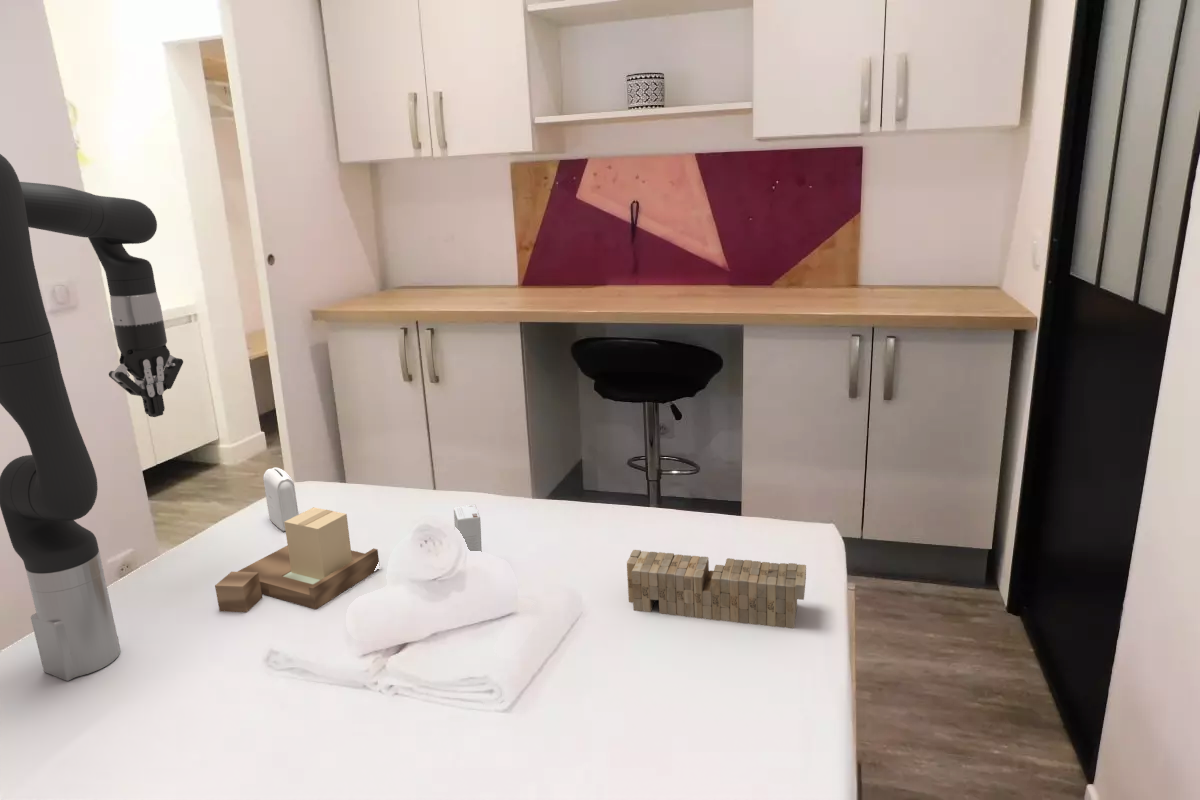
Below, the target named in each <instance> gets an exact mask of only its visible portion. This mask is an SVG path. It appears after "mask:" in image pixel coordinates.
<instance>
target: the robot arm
mask: <svg viewBox="0 0 1200 800" xmlns="http://www.w3.org/2000/svg"><path fill="white" fill-rule="evenodd" d="M30 229H37V230H42V231H48V232H52V233H59V234H63V235H69V236H72V237H73V236H74V237H81V238H87V239H88V240H89V242H90V244H91V246H92V248H93V250H94V252H95V254H96V256H97V259H98V260H99V262H100V265H101V266H102V268H103V270H104V273H105V276H106V282H107V283H106V284H107V288H108V293H109V298H110V311H111V312H110V313H111V318H112V322H113V326H114V332H115V337H116V343H117V347H118V349H119V351H120V357H119V365H118V366H117V368H116V369H115V370H110V371H109V372H108V377H109V378H111V380H113V381H114V382H115V383H116V384H117V385H118V386H120V387H121V388H122V389H124V390H125V391H126V392H128V394H130V395H131V396H132V395H133V396H138V397H141V398H142V403H143V408H144V412H145V414H146V415H148V416H149V417H151V418H158V417H160V416H163V415H164V412H165V409H166V408H165V403H164V402H165V401H164V397H163V394H164V392H165V391H167V390H170V389H172V388H173V386H174V382H175V381H176V379H177V377H178V374H179V372H180V370H181V368H182V366H183V364H184V359H182V358H177V357H175V356H173V355H171V352H170V349H169V348H168V346H167V342H168V340H167V333H166V326H165V321H164V317H163V313H162V312H163V311H162V305H161V301H160V299H159V295H158V292H157V286H156V282H155V275H154V271H153V266H152V264H151V262H150V261H149V260H148V259H145V258H143V257H136V256H133V255H130V254H129V253H128V251H127V250H126V249H125V246H124V245H130V244H132V245H133V244H135V245H137V244H143V243H146V242H149V241H150V240H151V239H153V238H154V236H155V234H156V232H157V229H158V221H157V218H156V216H155V214H154V212H153V211H152V209H151V208H150V207H148V205H146V204H144V203H143V202H141V201H139V200H135V199H131V198H125V197H124V198H123V197H114V196H104V195H97V194H93V193H90V192H88V191H83V190H79V189H76V188H72V187H67V186H63V185H56V184H48V183H39V182H38V183H37V182H36V183H35V182H27V181H20V180H19V176H18V174H17V172H16V170H15V169H14V167H13V165H12V164H11V163H10V162H9V160H8V159H7V158H6V157H5V156H3V155H2V154H1V153H0V405H1V406H2V408H3V409H5V411H6V412H7V413H8V414H9V415H10V416H11V418H12V419H13V420H14V421H15V422H16V424H17V425H18V426H19V427H20V430H21V431H22V432H23V434H24V437H25V439H26V441H27V443H28V446H29V449H30V452H31V454H28V455H22V456H19V457H16V458H14V459H13V460H11V461H10V462H8V464H6V466H5V467H4V469H3V470H2V472H1V474H0V511H1V514H2V517H3V521H4V524H5V528H6V530H7V533H8V537H9V539H10V543H11V546H12V548H13V550H14V552H15V553H16V554H17V556H19V557H20V559H21V560H22V561H23V564H24V568H25V571H26V576H27V580H28V584H29V589H30V592H31V597H32V600H33V605H34V608H35V613H33V614H32V615H31V616H30V620H31V624H32V629H33V633H34V636H35V638H34V639H35V641H36V645H37V649H38V654H39V657H40V661H41V666H42V669H43V670H42V671H43V672H44V673H47V674H49V675H50V676H51V675H52V676H54V677H56V678H59V679H61V680H64V681H65V682H66V681H67V682H68V681H71V680H72V679H74V678H77V677H80V676H85V675H88V674H91V673H94V672H96V671H99V670H101V669H103V668H104V667H107V666H108V665H110V664H111V663H113V662H115V660H116V659H117V658H118V657H119V655H120V653H121V646H120V641H119V636H118V633H117V628H116V622H115V619H114V614H113V609H112V604H111V601H110V600H111V599H110V595H109V591H108V586H107V581H106V576H105V572H104V568H103V564H102V563H103V562H102V558H101V554H100V553H101V552H100V549H99V544H98V540H97V538H96V535H95V534H94V533H93V532H92V531H91V530H89V529H87V528H86V527H83V526H82V525H81V524H79V523H77V521H75V520H79V519H81V518H83V517H85V516H86V515H87V514H88V513H89V512H90V511H91V510H92V509H93V507H94V505H95V502H96V500H97V496H98V478H97V473H96V470H95V466H94V464H93V462H92V458H91V457H90V453H89V451H88V448H87V446H86V444H85V440H84V439H83V436H82V433H81V431H80V428H79V425H78V423H77V421H76V418H75V415H74V412H73V408H72V404H71V401H70V398H69V393H68V391H67V388H66V384H65V381H64V377H63V374H62V370H61V366H60V360H59V357H58V356H59V355H58V351H57V347H56V343H55V340H54V336H53V332H52V328H51V326H50V321H49V319H48V315H47V312H46V309H45V306H44V301H43V297H42V294H41V293H42V292H41V289H40V284H39V281H38V275H37V271H36V268H35V267H36V266H35V262H34V257H33V256H34V255H33V249H32V244H31V243H32V242H31V235H30ZM130 374H131V376H132V377H133V379H131V378H130Z"/></svg>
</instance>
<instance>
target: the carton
mask: <svg viewBox="0 0 1200 800" xmlns="http://www.w3.org/2000/svg"><path fill="white" fill-rule="evenodd" d="M298 514H299V515H297V516H295V517H293V518H291V519H289V520H287V521H285V522H284V524H285V530H286V531H285V536H286V543H287V545H288V551H289V558H290V565H291V572H292V573H295V574H299V575H303V576H307V577H311V578H315V579H319V580H321V579H323V578H325V577H326V576H328V575H330V574H332V573H333V572H335V571H337V570H338V569H340V568H342V567H343V566H345V565H347V564H348V563H350V562H352V554H351V550H352V549H351V541H350V539H351V538H350V532H349V523H348V515H347V513H345V512H338V511H334V510H330V509H324V508H319V507H312V508H309V509H307V510H305V511H303V512H301V513H298Z"/></svg>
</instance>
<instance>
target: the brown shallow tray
mask: <svg viewBox="0 0 1200 800" xmlns="http://www.w3.org/2000/svg"><path fill="white" fill-rule="evenodd" d="M351 554H352V562H350V563H348V564H347V565H345V566H343V567H342V568H340V569H338V570H337V571H335V572H333V573H332V574H330V575H328V576H326V577H325V578H323V579H321V580H319V579H315V578H311V577H307V576H303V575H299V574H295V573H292V572H291V565H290V558H289V551H288V544H287V545H285V546H284V547H282V548H280V549H277V550H276V551H274V552H272V553H270V554H268V555H266V556H264V557H263V558H260V559H258V560H257V561H255V562H253V563H250V564H249V565H248V566H247V565H246V566H244V567H243V568H241V569H239V570H237V571H236V572H258V574H259V580H260V586H261V592H262V596H263V595H264V596H267V597H270V598H275V599H278V600H281V601H286V602H288V603H293V604H296V605H299V606H303V607H307V608H309V609H313V610H317V609H319V608H320V607H322V606H324V605H325V604H326V603H328V602H330V601H332V600H334V599H335V598H336V597H338V596H339V595H340V594H342V593H344V592H346V591H347V590H348V589H350V588H352V587H353V586H355V585H356V584H358V583H360V582H361V581H363V580H364V579H366V578H367V577H370V576H371V575H372V574H374V573H375V572H374V570H375V568H376V566H377V564H378V562H379V563H380V558H379V550H378V549H377V548H372V549H370V550H369V551H366V552H365V553H364V552H360V551H356V550H352V549H351ZM373 572H374V573H373Z"/></svg>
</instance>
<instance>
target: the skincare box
mask: <svg viewBox="0 0 1200 800" xmlns="http://www.w3.org/2000/svg"><path fill="white" fill-rule="evenodd" d="M453 518H454V520H453V521H454V528H455V527H456V528H457V529H458V530H459V531H460V533H461V534H462V536H463V538H464V539H465V542H466V544H467V547H468V549H469V550H470V551H481V552H483V551H482V548H483V547H482V528H481V527H482V526H481V516H480V514H479V509H478V508H477V506H476V504H469V505H468V504H466V505H461V506H454V507H453Z"/></svg>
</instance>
